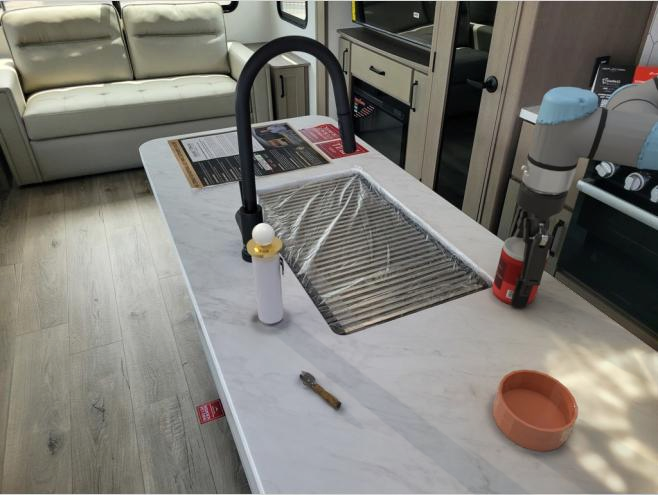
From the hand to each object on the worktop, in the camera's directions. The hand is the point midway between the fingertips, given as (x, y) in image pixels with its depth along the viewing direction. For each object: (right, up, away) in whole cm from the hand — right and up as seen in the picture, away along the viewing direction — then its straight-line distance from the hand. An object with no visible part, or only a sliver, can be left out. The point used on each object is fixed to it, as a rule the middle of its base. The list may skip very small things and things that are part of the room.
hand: (513, 291), depth 92 cm
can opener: (-37, -14, -19) cm, 44 cm away
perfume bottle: (-46, -5, -5) cm, 47 cm away
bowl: (-6, -16, -23) cm, 29 cm away
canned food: (0, -1, 0) cm, 1 cm away
